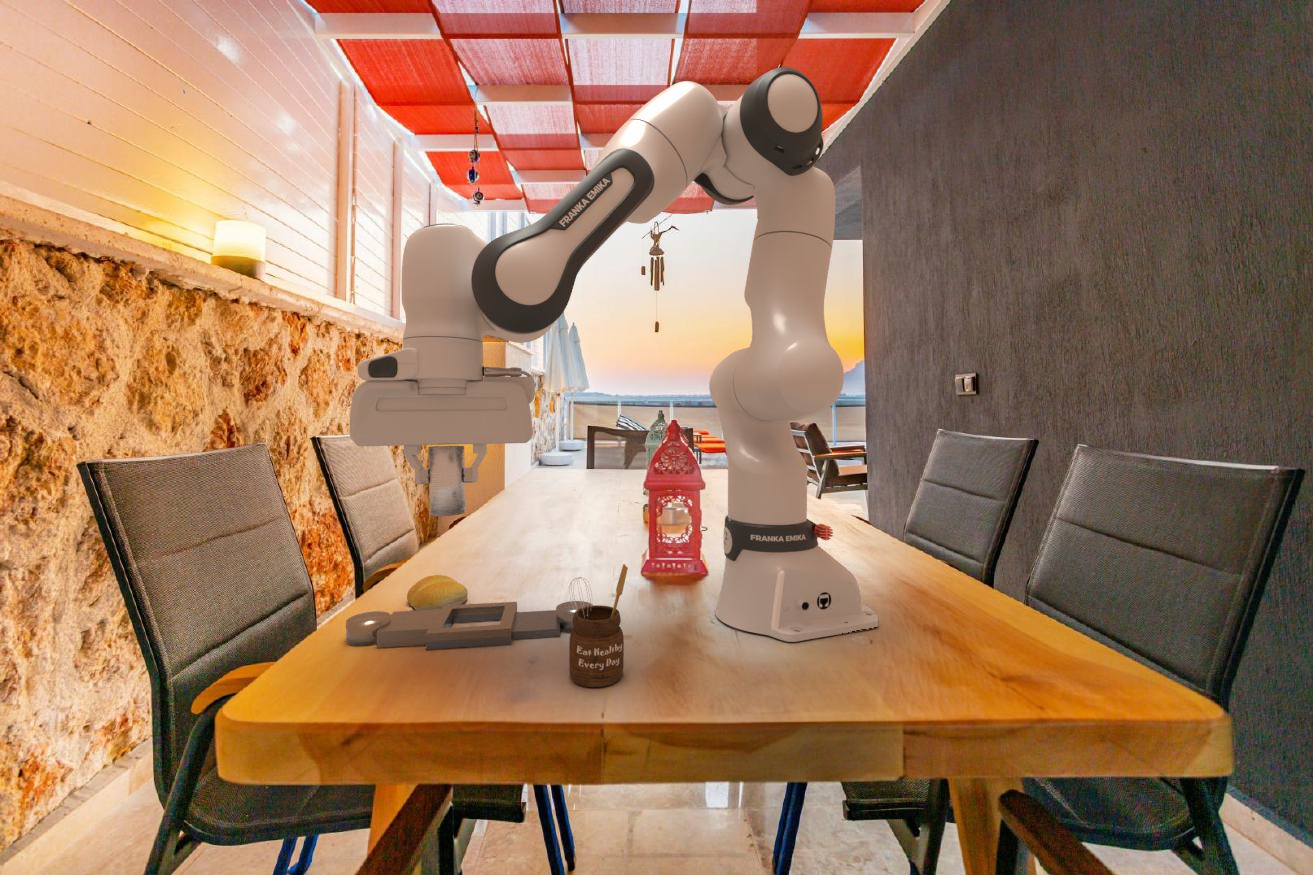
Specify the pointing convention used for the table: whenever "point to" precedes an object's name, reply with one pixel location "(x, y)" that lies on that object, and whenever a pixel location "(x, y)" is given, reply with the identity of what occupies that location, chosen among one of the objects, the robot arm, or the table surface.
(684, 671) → the table surface
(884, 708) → the table surface
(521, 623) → the lower chain link
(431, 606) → the bread roll
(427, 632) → the upper chain link
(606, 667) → the utensil holder
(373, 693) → the table surface
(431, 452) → the steel pin
